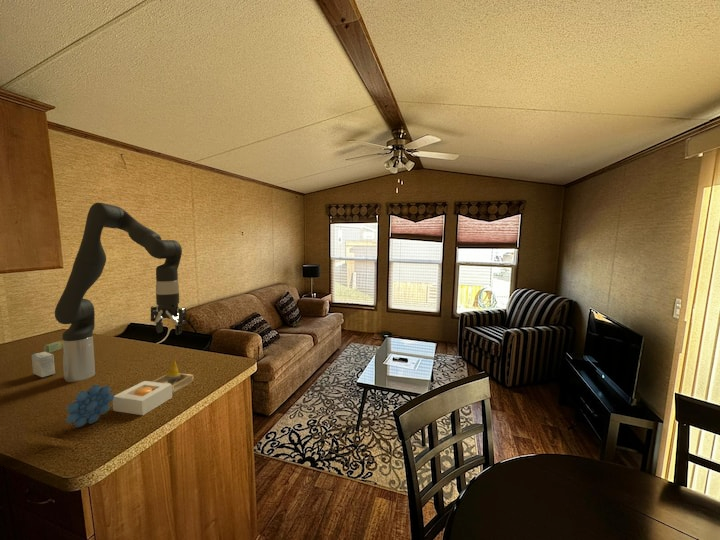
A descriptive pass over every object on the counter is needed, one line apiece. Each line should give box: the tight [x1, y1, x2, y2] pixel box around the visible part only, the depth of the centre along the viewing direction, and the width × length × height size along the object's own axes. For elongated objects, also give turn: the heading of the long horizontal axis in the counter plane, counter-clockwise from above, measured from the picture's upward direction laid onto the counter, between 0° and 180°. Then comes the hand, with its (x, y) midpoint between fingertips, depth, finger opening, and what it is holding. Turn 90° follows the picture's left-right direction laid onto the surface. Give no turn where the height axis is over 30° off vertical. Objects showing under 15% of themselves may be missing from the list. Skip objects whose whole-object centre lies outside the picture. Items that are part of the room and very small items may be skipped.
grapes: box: [65, 384, 115, 428], centre depth 96 cm, size 12×7×12 cm, turn 145°
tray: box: [151, 372, 195, 395], centre depth 120 cm, size 11×11×3 cm
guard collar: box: [112, 380, 173, 416], centre depth 107 cm, size 12×12×5 cm
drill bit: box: [165, 359, 181, 384], centre depth 121 cm, size 5×5×10 cm
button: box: [135, 387, 152, 396], centre depth 107 cm, size 5×5×4 cm
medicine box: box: [31, 351, 56, 378], centre depth 129 cm, size 8×4×9 cm, turn 65°
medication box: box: [43, 339, 63, 354], centre depth 158 cm, size 12×3×4 cm, turn 170°
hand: (169, 333), depth 118 cm, fingers open, 8 cm apart
